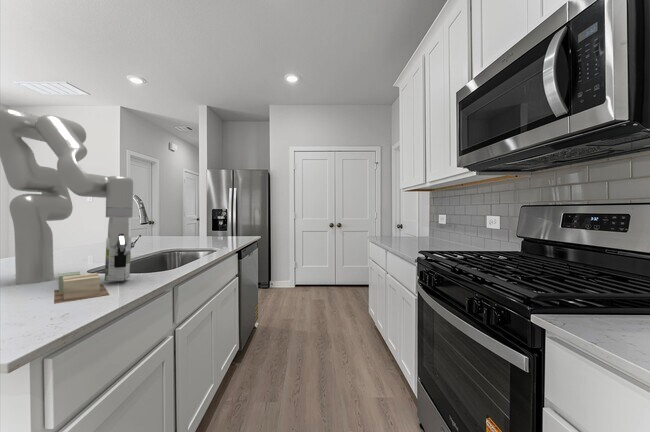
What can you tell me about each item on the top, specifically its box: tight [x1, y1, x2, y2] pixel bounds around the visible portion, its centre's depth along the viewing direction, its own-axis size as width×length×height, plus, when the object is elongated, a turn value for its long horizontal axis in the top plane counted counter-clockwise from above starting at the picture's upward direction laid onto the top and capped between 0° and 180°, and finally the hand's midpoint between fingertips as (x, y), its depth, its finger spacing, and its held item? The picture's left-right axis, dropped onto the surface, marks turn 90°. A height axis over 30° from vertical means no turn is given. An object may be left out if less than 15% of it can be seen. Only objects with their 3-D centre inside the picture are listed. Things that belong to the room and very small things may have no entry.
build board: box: [53, 283, 110, 305], centre depth 90 cm, size 18×12×2 cm, turn 42°
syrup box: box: [104, 236, 132, 282], centre depth 102 cm, size 6×6×14 cm
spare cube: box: [57, 271, 81, 293], centre depth 93 cm, size 5×5×5 cm
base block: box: [63, 272, 101, 300], centre depth 88 cm, size 8×8×5 cm
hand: (118, 264), depth 102 cm, fingers closed on syrup box, 7 cm apart
